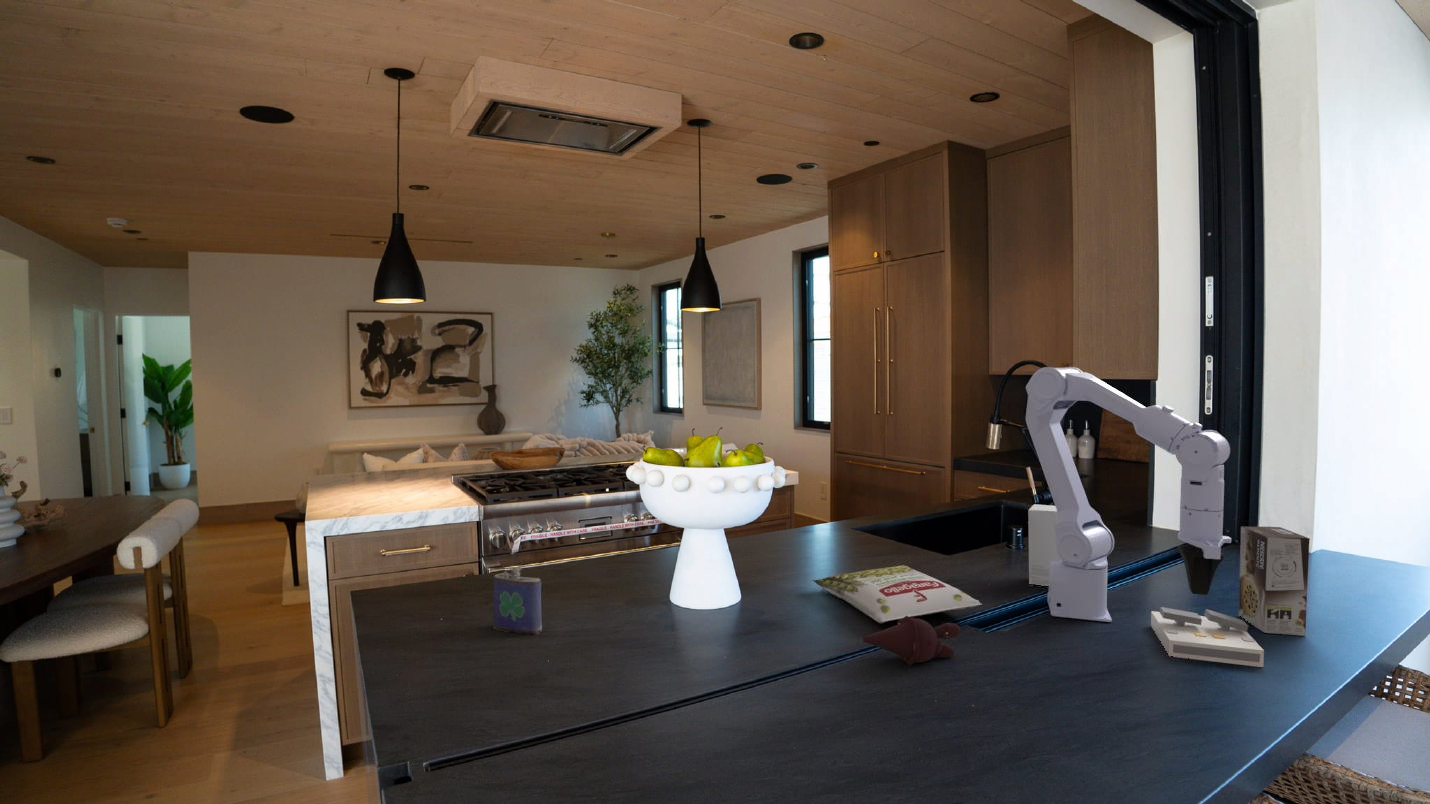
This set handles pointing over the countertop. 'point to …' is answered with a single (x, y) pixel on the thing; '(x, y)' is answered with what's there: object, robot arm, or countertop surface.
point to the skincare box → (1041, 542)
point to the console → (1207, 642)
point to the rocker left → (1180, 616)
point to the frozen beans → (896, 593)
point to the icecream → (915, 640)
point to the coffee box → (1274, 579)
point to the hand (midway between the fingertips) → (1198, 593)
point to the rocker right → (1226, 621)
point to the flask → (517, 603)
